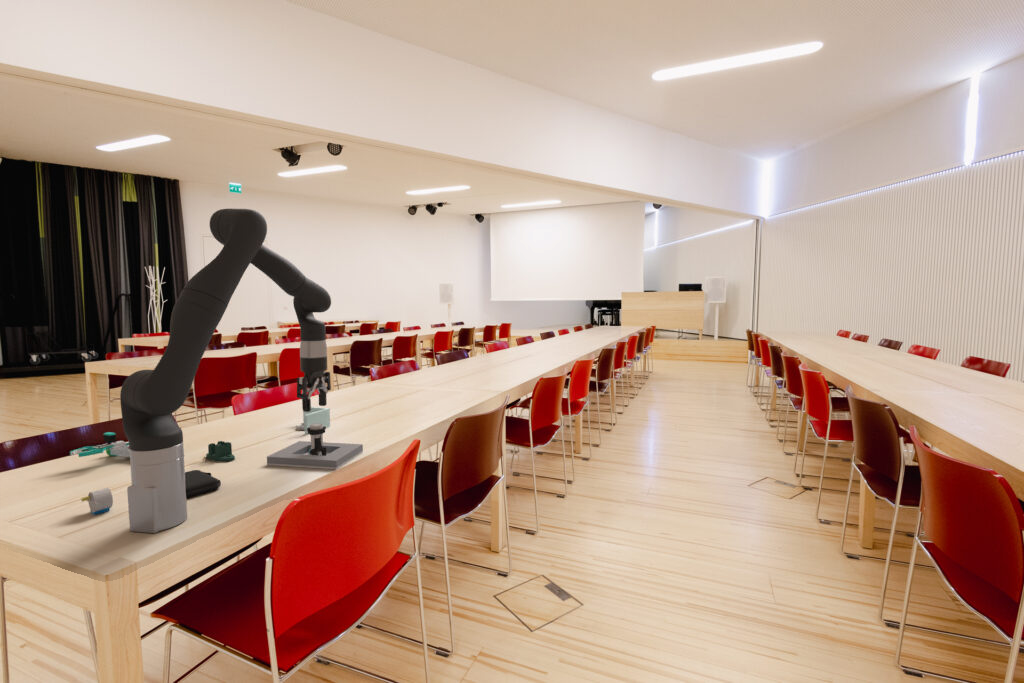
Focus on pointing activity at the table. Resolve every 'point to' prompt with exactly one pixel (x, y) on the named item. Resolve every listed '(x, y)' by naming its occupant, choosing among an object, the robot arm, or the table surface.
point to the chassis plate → (299, 455)
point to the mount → (220, 452)
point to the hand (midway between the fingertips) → (315, 408)
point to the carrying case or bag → (200, 483)
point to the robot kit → (105, 447)
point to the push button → (317, 439)
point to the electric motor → (99, 501)
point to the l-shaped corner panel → (315, 418)
